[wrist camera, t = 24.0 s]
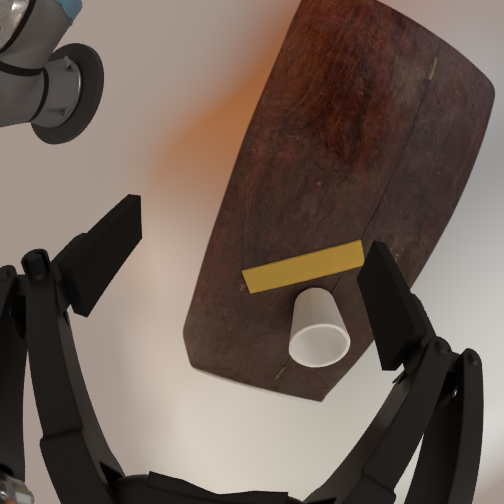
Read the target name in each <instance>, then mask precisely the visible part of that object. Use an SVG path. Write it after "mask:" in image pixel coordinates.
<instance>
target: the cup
mask: <svg viewBox="0 0 504 504" xmlns="http://www.w3.org/2000/svg"><path fill="white" fill-rule="evenodd" d="M349 346H350V338H349V335H348V333H347V330H346V328H345V325H344V323H343V320H342V318H341V315H340V313H339V311H338V308H337V306H336V303H335V301H334V299H333V297H332V295H331V294H330V292H329V291H327V290H325V289H322V288H314V287H309V288H308V289H306V290H305V291H303V292H302V293H300V294H299V295H298V297H297V298H296V300H295V306H294V314H293V321H292V329H291V336H290V343H289V353H290V355H291V357H292V358H293V359H294V360H295V361H296V362H298V363H300V364H302V365H304V366H308V367H322V366H327V365H330V364H333V363H335V362H337V361H339V360H340V359H341V358H342V357H343V356H344V355H345V354H346V353H347V351H348V349H349Z"/></svg>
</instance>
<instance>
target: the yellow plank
mask: <svg viewBox="0 0 504 504" xmlns="http://www.w3.org/2000/svg"><path fill="white" fill-rule="evenodd" d="M363 264H364V255H363V249H362V243H361V240H360V239H359V240H355V241H352V242H348V243H344V244H341V245H337V246H333V247H329V248H326V249H322V250H318V251H314V252H310V253H307V254H303V255H299V256H295V257H291V258H287V259H284V260H280V261H276V262H272V263H268V264H264V265H260V266H256V267H252V268H248V269H244V270H242V274H243V276H244V279H245V281H246V284H247V286H248V288H249V291H250V293H256V292H260V291H264V290H269V289H273V288H277V287H281V286H285V285H289V284H294V283H298V282H302V281H306V280H310V279H314V278H318V277H321V276H325V275H329V274H333V273H337V272H341V271H344V270H348V269H352V268H355V267H359V266H363Z"/></svg>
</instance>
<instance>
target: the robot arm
mask: <svg viewBox="0 0 504 504" xmlns="http://www.w3.org/2000/svg"><path fill="white" fill-rule="evenodd" d="M81 9H82V1H81V0H0V127H5V126H10V125H15V124H21V123H27V122H30V123H33V124H36V125H39V126H42V127H47V128H52V127H58V126H61V125H63V124H64V123H66V122H67V121H68V120H69V119H70V118H71V117H72V115H73V114H74V113H75V111H76V109H77V107H78V105H79V103H80V100H81V97H82V93H83V86H84V78H83V72H82V69H81V67H80V66H79V64H78V63H77V62H75V61H73V60H70V59H69V58H68V57H67V55H66V56H65V57H64V59H59V60H55V61H52V62H48V63H47V61H48V59H49V58H50V56H51V54H52V53H53V51H54V49H55V47H56V46H57V44H58V43H59V41H60V40H61V38H62V37H63V35H64V34H65V32H66V31H67V29H68V28H69V27H70V26H71V25H72V23H73V21H74V19H75V17H76V16H77V15H78V13H79V12H80V11H81ZM141 239H142V226H141V196H138V195H131V194H128V195H127V196H126V197H125V198H124V199H123V200H122V201H120V203H118V204H117V205H116V206H115V207H114V208H113V209H112V210H110V211H109V212H108V213H107V214H106V215H105V216H104V217H103V218H102V219H101V220H100V221H99V222H98V223H97V224H96V225H95V226H94V227H93V228H92V229H90V231H88V233H81V234H80V235H78V236H76V237H74V238H73V239H72V240H71V241H70V242H69V243H68V245H66V246H65V248H64V249H63V250H62V251H61V252H60V253H59V254H58V255H57V256H56V257H55V258H54V259H53V260H52V261H51V262H50V260H49V256H48V253H47V251H46V250H44V249H34V250H32V251H29V252H28V253H27V254H25V255H24V257H23V258H22V260H21V264H22V267H23V269H24V272H25V275H18V274H17V272H16V269H15V267H14V266H12V265H6V266H3V267H1V268H0V504H33V503H34V496H33V494H32V493H31V492H30V491H29V490H28V489H27V487H26V485H25V484H24V482H25V458H24V442H23V391H24V377H25V367H26V357H27V351H28V354H29V363H30V371H31V378H32V384H33V390H34V396H35V400H36V406H37V410H38V415H39V418H40V423H41V427H42V430H43V437H42V438H41V439H40V448H41V453H42V456H43V459H44V462H45V465H46V467H47V471H48V473H49V476H50V478H51V481H52V484H53V486H54V488H55V490H56V493H57V495H58V498H59V500H60V502H61V504H394V502H395V500H396V494H395V493H394V488H395V486H396V485H397V483H398V481H399V479H400V478H401V476H402V475H403V473H404V471H405V469H406V467H407V466H408V464H409V462H410V460H411V458H412V456H413V454H414V452H415V450H416V448H417V446H418V444H419V442H420V440H421V438H422V436H423V434H424V436H423V441H422V445H421V449H420V453H419V457H418V461H417V465H416V468H415V472H414V475H413V479H412V482H411V485H410V488H409V491H408V494H407V497H406V499H405V502H404V504H472V500H473V496H474V492H475V487H476V482H477V476H478V469H479V464H480V455H481V447H482V434H483V408H484V401H483V374H482V362H481V359H480V357H479V355H478V354H477V352H476V351H474V350H473V349H470V348H467V349H465V350H464V352H463V353H462V354H461V355H460V354H457V353H455V352H452V350H451V347H450V345H449V344H448V342H447V341H446V340H445V339H443V338H441V337H438V336H436V334H435V331H434V329H433V327H432V325H431V322H430V320H429V318H428V317H427V314H426V311H425V310H424V307H423V305H422V303H421V301H420V300H419V299H418V298H417V296H416V295H415V294H411V292H410V289H409V287H408V285H407V283H406V281H405V279H404V277H403V275H402V273H401V272H400V270H399V268H398V266H397V264H396V262H395V260H394V258H393V256H392V255H391V253H390V251H389V249H388V247H387V246H386V244H385V243H383V242H378V241H373V243H372V246H371V248H370V250H369V253H368V255H367V257H366V259H365V261H364V264H363V266H362V268H361V270H360V272H359V274H358V276H357V281H358V284H359V288H360V291H361V294H362V297H363V300H364V304H365V307H366V310H367V314H368V317H369V321H370V324H371V328H372V332H373V335H374V339H375V343H376V347H377V350H378V355H379V358H380V362H381V367H382V370H385V371H386V370H387V371H389V370H390V371H396V370H397V368H398V367H399V366H400V365H401V364H402V363H403V366H404V371H403V372H402V373H401V374H400V375H399V376H398V377H397V378H396V379H395V380H394V381H393V382H392V383H395V382H396V383H395V385H394V386H393V388H392V390H391V392H390V394H389V395H388V397H387V399H386V400H385V402H384V403H383V405H382V407H381V408H380V410H379V411H378V413H377V415H376V416H375V418H374V419H373V421H372V422H371V424H370V425H369V427H368V428H367V430H366V431H365V433H364V434H363V435H362V437H361V438H360V440H359V441H358V442H357V444H356V445H355V447H354V448H353V449H352V450H351V452H350V453H349V454H348V456H347V457H346V458H345V460H344V461H343V462H342V463H341V464H340V466H339V467H338V468H337V469H336V470H335V472H334V473H333V474H332V475H331V476H330V478H329V479H328V480H327V481H326V482H325V483H324V484H323V485H322V486H321V487H320V488H318V489H316V490H315V491H314V492H313V493H311V494H310V495H309V496H308V497H307V498H306V499H305V500H304V501H303V502H302V501H300V500H298V499H295V498H292V497H289V496H288V492H269V491H248V492H241V493H230V494H216V493H213V492H210V491H208V490H205V489H203V488H200V487H198V486H196V485H193V484H191V483H189V482H187V481H185V480H182V479H177V478H173V477H169V476H165V475H162V474H158V473H155V472H151V471H150V472H149V475H145V474H143V475H131V476H125V474H124V472H123V470H122V468H121V466H120V465H119V463H118V461H117V460H116V458H115V457H114V455H113V454H112V452H111V450H110V449H109V447H108V444H107V442H106V440H105V438H104V435H103V433H102V430H101V428H100V426H99V423H98V420H97V418H96V415H95V412H94V410H93V407H92V404H91V401H90V398H89V395H88V392H87V389H86V386H85V382H84V379H83V375H82V372H81V368H80V365H79V361H78V357H77V353H76V349H75V345H74V340H73V336H72V331H71V326H70V321H69V315H68V312H67V308H68V307H69V305H70V304H71V306H72V309H73V311H74V313H76V314H79V315H82V316H84V317H88V316H89V314H90V312H91V311H92V309H93V308H94V306H95V305H96V303H97V301H98V300H99V298H100V296H101V295H102V294H103V292H104V291H105V289H106V288H107V286H108V285H109V283H110V282H111V280H112V279H113V277H114V276H115V274H116V273H117V272H118V270H119V269H120V268H121V266H122V265H123V263H124V262H125V261H126V259H127V258H128V256H129V255H130V254H131V252H132V251H133V249H134V248H135V247H136V245H137V244H138V243H139V241H140V240H141ZM456 391H457V392H456ZM455 392H456V395H455Z"/></svg>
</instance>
